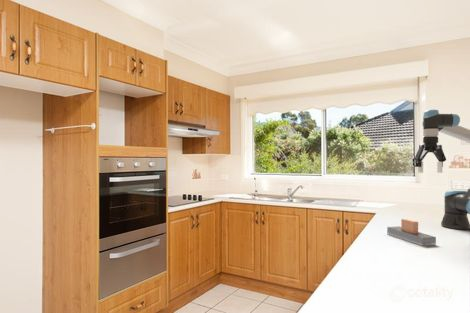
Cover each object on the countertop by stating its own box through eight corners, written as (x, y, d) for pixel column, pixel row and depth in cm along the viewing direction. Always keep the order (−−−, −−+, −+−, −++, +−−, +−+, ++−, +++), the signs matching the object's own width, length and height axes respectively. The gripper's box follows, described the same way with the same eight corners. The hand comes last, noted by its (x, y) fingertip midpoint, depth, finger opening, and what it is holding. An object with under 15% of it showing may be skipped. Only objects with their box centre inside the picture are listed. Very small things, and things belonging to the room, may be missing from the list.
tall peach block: (405, 235, 167) (406, 218, 167) (418, 239, 159) (418, 221, 159) (401, 235, 166) (401, 219, 166) (413, 239, 158) (413, 222, 158)
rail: (399, 233, 175) (399, 226, 175) (435, 245, 152) (435, 237, 152) (387, 234, 173) (387, 226, 173) (422, 246, 150) (422, 237, 150)
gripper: (442, 137, 187) (441, 172, 187) (407, 136, 181) (407, 172, 181) (453, 136, 179) (453, 172, 179) (418, 135, 174) (417, 172, 174)
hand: (430, 172), depth 180 cm, fingers open, 13 cm apart
